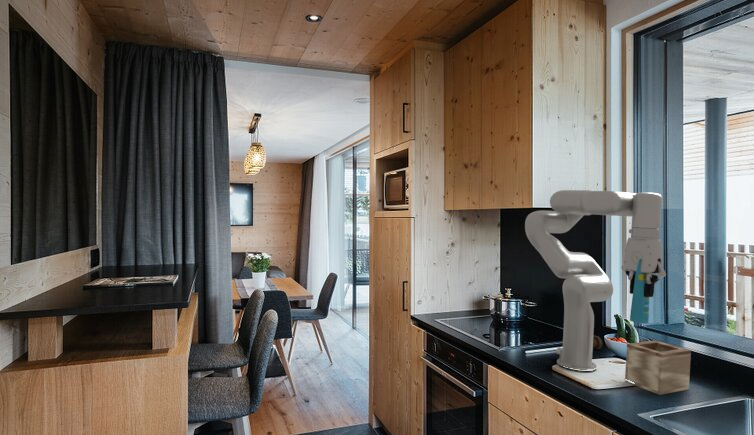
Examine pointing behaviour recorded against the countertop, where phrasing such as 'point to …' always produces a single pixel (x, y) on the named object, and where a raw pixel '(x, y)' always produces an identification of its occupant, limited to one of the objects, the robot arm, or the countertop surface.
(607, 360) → the countertop surface
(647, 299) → the tube
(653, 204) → the robot arm
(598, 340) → the brown oblong piece
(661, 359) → the box
